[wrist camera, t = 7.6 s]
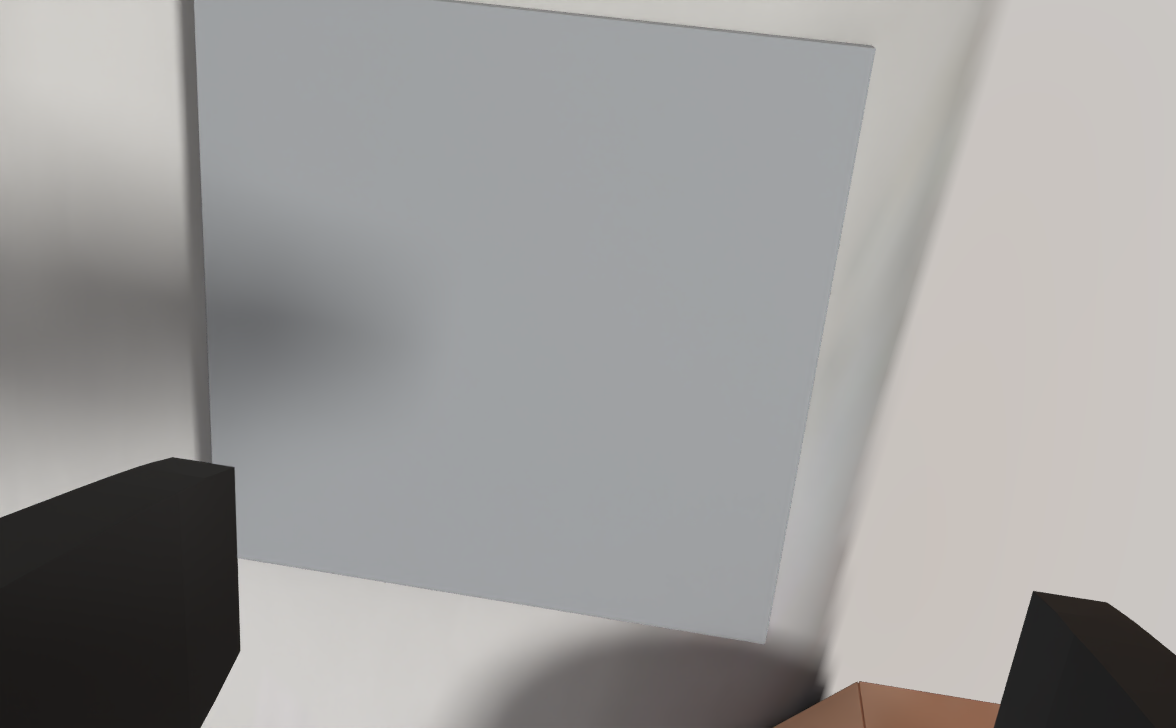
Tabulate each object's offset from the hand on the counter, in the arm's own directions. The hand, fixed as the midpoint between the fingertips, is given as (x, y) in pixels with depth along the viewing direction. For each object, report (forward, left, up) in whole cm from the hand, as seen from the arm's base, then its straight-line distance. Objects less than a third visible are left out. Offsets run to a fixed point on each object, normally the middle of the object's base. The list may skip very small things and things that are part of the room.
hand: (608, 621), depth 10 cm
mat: (-1, +3, -10) cm, 10 cm away
